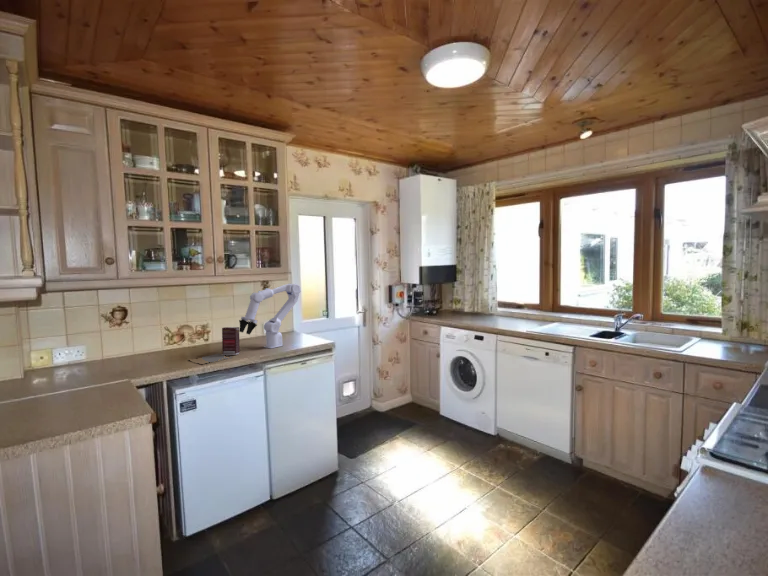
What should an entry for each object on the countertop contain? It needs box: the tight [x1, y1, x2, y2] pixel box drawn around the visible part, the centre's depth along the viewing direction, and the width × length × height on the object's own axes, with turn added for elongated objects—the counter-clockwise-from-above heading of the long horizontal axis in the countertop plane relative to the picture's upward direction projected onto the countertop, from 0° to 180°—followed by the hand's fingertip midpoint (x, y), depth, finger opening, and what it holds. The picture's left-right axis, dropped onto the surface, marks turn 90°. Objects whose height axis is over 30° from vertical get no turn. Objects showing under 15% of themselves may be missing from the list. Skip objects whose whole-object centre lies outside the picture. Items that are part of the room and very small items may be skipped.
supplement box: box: [221, 326, 241, 356], centre depth 226 cm, size 9×5×16 cm, turn 84°
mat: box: [201, 353, 233, 363], centre depth 216 cm, size 18×16×1 cm
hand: (244, 333), depth 232 cm, fingers open, 7 cm apart
